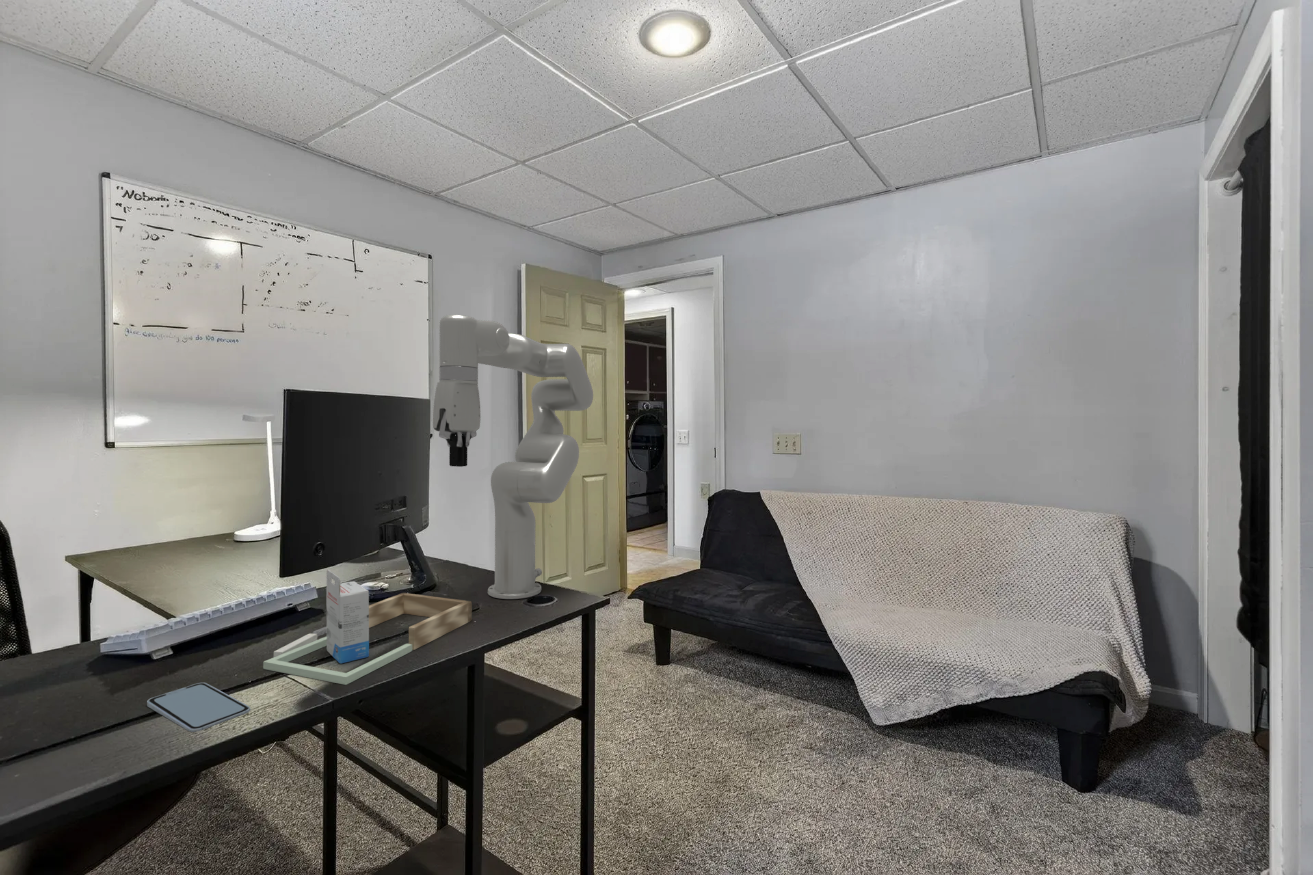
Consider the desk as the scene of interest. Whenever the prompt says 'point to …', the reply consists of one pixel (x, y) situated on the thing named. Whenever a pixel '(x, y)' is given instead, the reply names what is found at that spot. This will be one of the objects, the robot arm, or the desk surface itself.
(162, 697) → the smartphone
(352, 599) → the ink box
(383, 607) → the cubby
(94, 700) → the desk surface
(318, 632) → the crook tool
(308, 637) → the stick
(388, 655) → the frame
